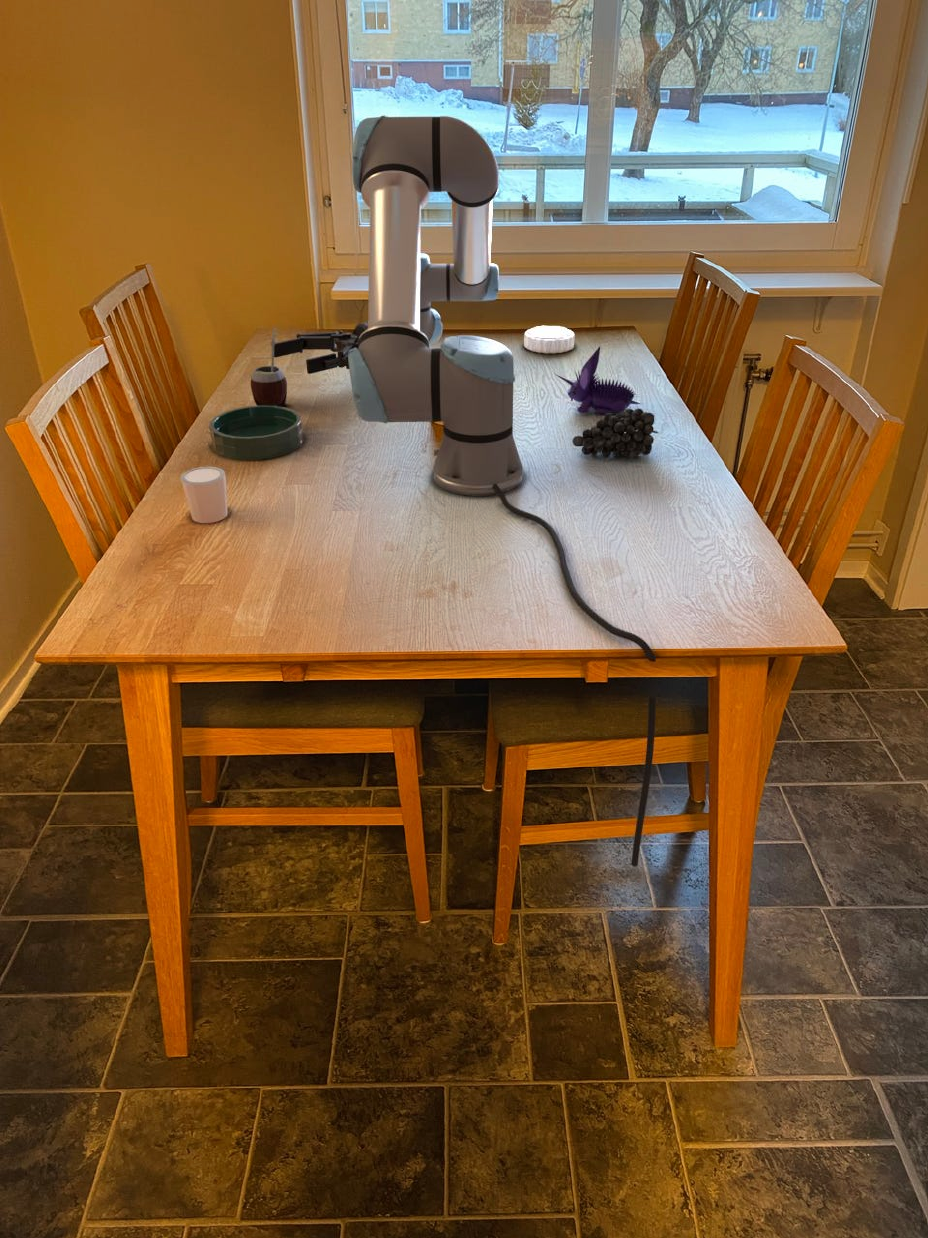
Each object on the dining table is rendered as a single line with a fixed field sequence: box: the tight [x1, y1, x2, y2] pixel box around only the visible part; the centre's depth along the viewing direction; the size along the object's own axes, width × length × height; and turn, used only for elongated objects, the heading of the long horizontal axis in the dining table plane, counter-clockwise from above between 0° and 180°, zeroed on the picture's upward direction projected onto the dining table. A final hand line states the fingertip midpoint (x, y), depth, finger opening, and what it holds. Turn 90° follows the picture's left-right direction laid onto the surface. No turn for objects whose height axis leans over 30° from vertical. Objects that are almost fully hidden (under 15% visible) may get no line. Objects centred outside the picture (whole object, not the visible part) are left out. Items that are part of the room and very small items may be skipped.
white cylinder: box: [179, 466, 229, 524], centre depth 147 cm, size 7×7×7 cm
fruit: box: [572, 408, 659, 459], centre depth 167 cm, size 9×8×15 cm
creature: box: [554, 345, 642, 415], centre depth 184 cm, size 9×18×12 cm, turn 80°
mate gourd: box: [250, 326, 288, 408], centre depth 186 cm, size 8×8×15 cm
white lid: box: [523, 325, 576, 354], centre depth 222 cm, size 12×12×4 cm
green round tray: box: [209, 405, 304, 461], centre depth 173 cm, size 17×17×4 cm
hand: (289, 358), depth 188 cm, fingers open, 13 cm apart
